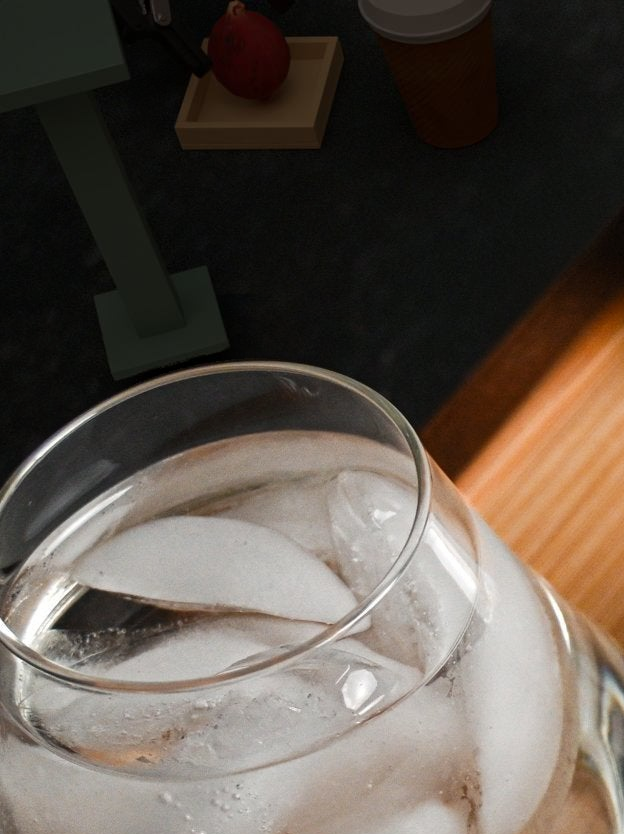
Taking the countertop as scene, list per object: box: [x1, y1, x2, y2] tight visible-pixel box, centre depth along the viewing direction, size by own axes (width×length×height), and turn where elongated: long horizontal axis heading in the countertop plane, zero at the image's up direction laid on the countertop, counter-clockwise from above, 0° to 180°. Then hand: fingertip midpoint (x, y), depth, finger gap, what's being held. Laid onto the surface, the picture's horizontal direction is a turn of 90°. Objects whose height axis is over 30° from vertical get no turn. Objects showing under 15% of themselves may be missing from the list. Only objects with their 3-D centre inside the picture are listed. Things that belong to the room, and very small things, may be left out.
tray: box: [174, 36, 345, 151], centre depth 144 cm, size 10×10×2 cm
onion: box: [207, 0, 291, 100], centre depth 142 cm, size 6×6×8 cm
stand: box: [0, 0, 231, 382], centre depth 123 cm, size 9×9×23 cm
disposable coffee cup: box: [357, 0, 500, 149], centre depth 138 cm, size 10×10×12 cm
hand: (248, 40), depth 140 cm, fingers open, 8 cm apart
